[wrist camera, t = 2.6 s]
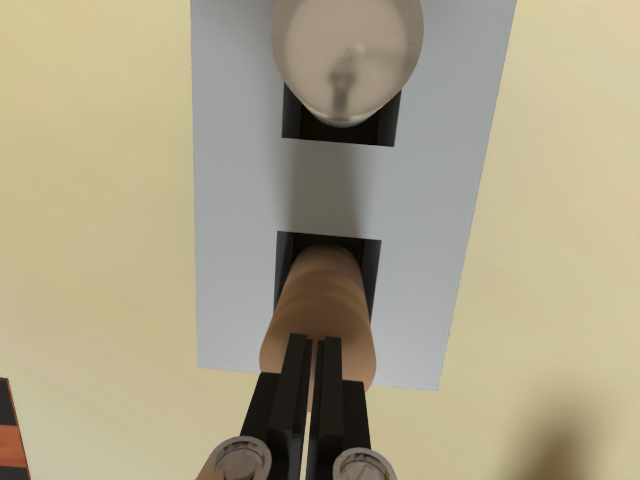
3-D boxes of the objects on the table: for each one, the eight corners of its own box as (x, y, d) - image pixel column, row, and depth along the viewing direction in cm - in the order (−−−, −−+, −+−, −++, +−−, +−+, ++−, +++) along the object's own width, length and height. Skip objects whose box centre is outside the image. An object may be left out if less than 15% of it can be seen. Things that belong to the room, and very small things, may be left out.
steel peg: (389, 41, 16) (436, -50, 9) (379, 131, 17) (411, 121, 10) (304, 35, 16) (274, -61, 9) (299, 124, 17) (268, 110, 10)
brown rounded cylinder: (364, 246, 19) (383, 316, 11) (357, 312, 20) (368, 418, 12) (292, 239, 19) (261, 305, 11) (288, 305, 20) (257, 406, 12)
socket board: (462, 7, 22) (530, -67, 14) (409, 322, 28) (437, 391, 20) (240, -8, 22) (188, -89, 14) (236, 305, 28) (197, 367, 20)
